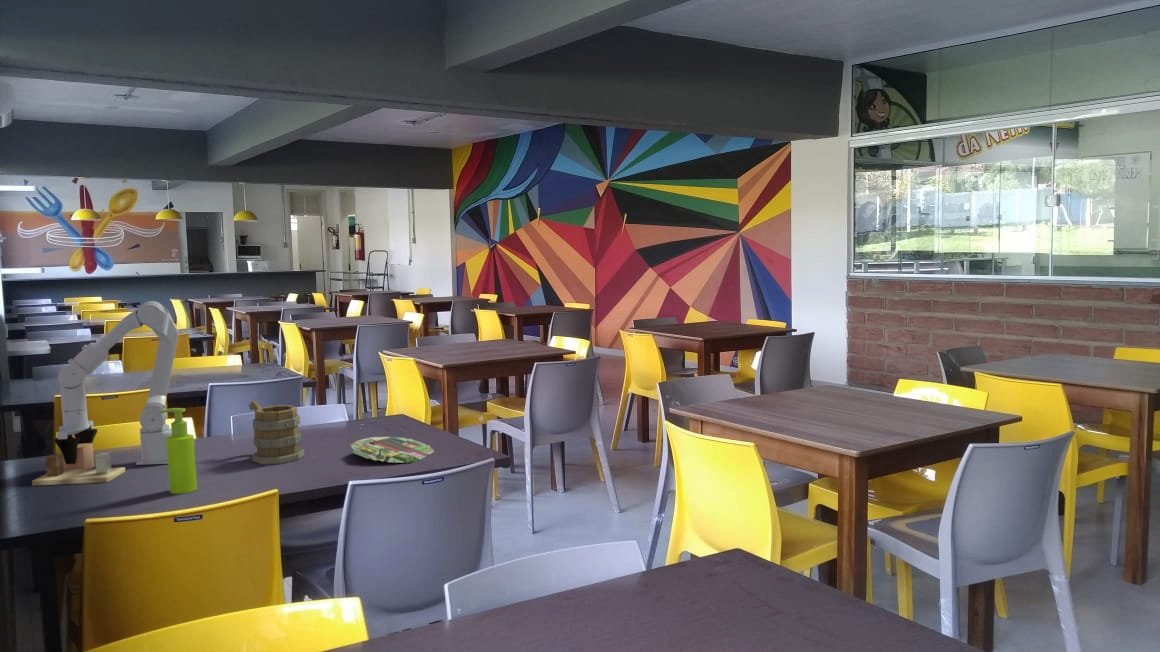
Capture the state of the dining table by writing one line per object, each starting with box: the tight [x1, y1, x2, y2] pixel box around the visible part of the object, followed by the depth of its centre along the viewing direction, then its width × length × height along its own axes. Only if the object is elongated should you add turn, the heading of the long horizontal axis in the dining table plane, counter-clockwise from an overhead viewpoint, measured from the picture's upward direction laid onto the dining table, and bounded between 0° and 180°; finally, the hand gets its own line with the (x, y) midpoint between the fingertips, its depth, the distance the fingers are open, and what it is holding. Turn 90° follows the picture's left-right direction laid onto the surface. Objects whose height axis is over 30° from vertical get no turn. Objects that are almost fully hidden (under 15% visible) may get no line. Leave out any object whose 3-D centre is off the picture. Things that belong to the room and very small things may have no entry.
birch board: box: [31, 466, 126, 487], centre depth 213 cm, size 18×10×1 cm, turn 95°
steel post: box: [94, 451, 113, 474], centre depth 214 cm, size 3×3×5 cm
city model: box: [349, 436, 435, 465], centre depth 230 cm, size 25×23×6 cm
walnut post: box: [44, 453, 64, 477], centre depth 213 cm, size 3×3×5 cm
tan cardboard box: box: [62, 442, 95, 470], centre depth 222 cm, size 5×5×7 cm
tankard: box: [248, 400, 306, 465], centre depth 232 cm, size 20×13×15 cm, turn 47°
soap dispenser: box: [160, 407, 198, 495], centre depth 199 cm, size 6×7×20 cm
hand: (78, 460), depth 222 cm, fingers open, 7 cm apart
